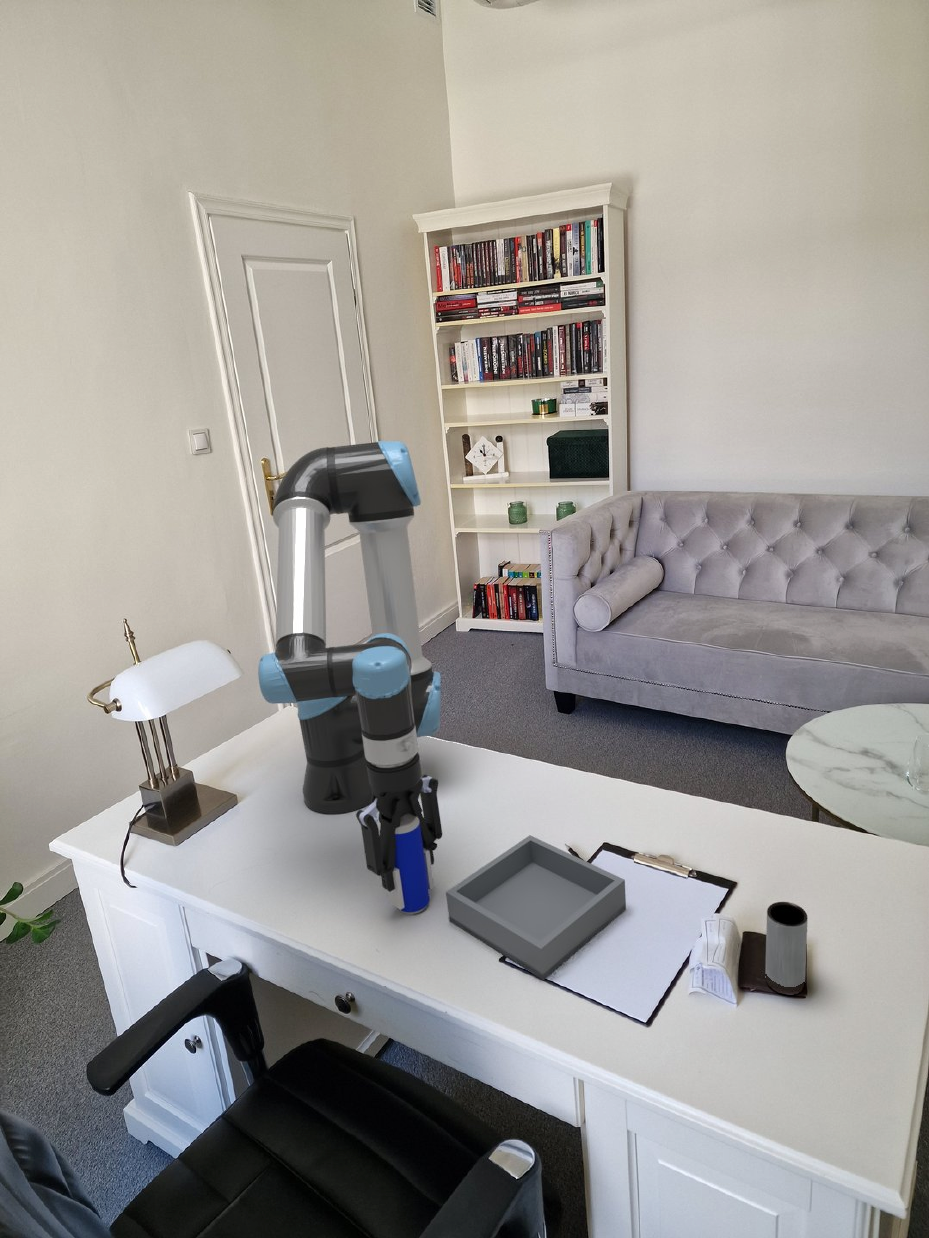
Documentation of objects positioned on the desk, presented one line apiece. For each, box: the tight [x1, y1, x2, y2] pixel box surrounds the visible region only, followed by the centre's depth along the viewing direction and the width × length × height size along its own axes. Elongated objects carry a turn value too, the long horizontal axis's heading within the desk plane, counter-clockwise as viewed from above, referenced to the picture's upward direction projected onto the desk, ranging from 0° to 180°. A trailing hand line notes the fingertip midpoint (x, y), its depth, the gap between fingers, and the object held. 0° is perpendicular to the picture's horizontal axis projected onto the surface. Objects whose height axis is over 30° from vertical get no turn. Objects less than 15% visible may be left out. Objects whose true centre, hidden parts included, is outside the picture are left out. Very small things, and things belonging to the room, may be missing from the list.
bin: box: [445, 835, 627, 981], centre depth 115 cm, size 18×18×5 cm
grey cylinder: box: [765, 901, 809, 987], centre depth 98 cm, size 4×4×10 cm
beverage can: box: [394, 814, 430, 915], centre depth 119 cm, size 5×5×15 cm
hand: (411, 894), depth 121 cm, fingers closed on beverage can, 5 cm apart
